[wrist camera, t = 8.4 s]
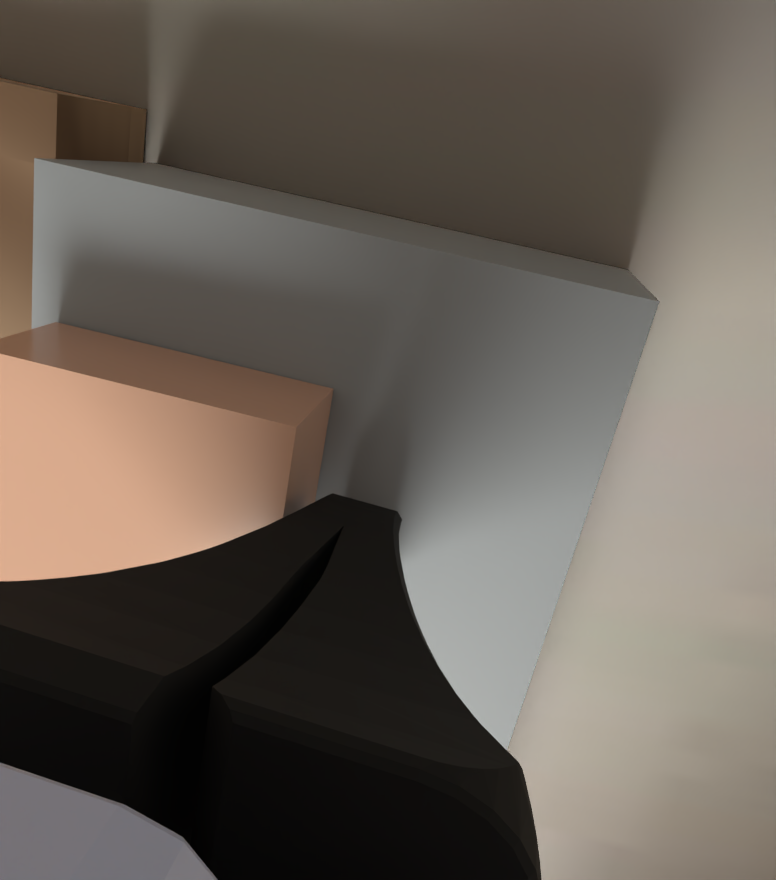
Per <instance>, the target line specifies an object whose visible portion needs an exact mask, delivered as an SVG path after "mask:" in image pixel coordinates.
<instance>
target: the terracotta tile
mask: <svg viewBox="0 0 776 880" xmlns="http://www.w3.org/2000/svg"><path fill="white" fill-rule="evenodd" d="M333 390H334V389H333V388H329V387H325V386H320V385H316V384H312V383H308V382H304V381H300V380H295V379H291V378H287V377H283V376H279V375H275V374H270V373H266V372H262V371H258V370H254V369H250V368H246V367H241V366H237V365H233V364H229V363H225V362H221V361H216V360H212V359H208V358H204V357H200V356H196V355H191V354H187V353H183V352H179V351H175V350H171V349H166V348H162V347H158V346H154V345H150V344H146V343H141V342H137V341H133V340H129V339H125V338H121V337H117V336H112V335H108V334H104V333H100V332H96V331H92V330H87V329H83V328H79V327H75V326H71V325H67V324H62V323H58V322H54V323H51V324H47V325H44V326H41V327H37V328H34V329H30V330H27V331H24V332H20V333H17V334H14V335H10V336H7V337H4V338H0V581H25V580H41V579H53V578H65V577H74V576H82V575H91V574H99V573H106V572H111V571H116V570H121V569H127V568H132V567H137V566H142V565H148V564H153V563H158V562H162V561H167V560H171V559H174V558H178V557H181V556H185V555H189V554H192V553H196V552H199V551H202V550H205V549H208V548H211V547H214V546H217V545H220V544H223V543H225V542H228V541H230V540H233V539H235V538H238V537H240V536H242V535H245V534H247V533H250V532H252V531H255V530H257V529H260V528H262V527H265V526H267V525H269V524H271V523H273V522H275V521H277V520H279V519H281V518H283V517H286V516H288V515H290V514H292V513H294V512H296V511H298V510H300V509H302V508H304V507H306V506H308V505H310V504H311V503H313V502H315V499H316V493H317V487H318V480H319V474H320V468H321V462H322V456H323V450H324V444H325V438H326V432H327V426H328V420H329V414H330V408H331V402H332V396H333Z"/></svg>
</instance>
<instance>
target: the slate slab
mask: <svg viewBox="0 0 776 880" xmlns="http://www.w3.org/2000/svg"><path fill="white" fill-rule="evenodd" d="M658 304H659V301H658V300H657V299H656V298H655V297H654V296H653V295H652V294H651V293H650V292H649V291H648V290H647V288H646V287H645V286H644V285H643V284H642V283H641V282H640V281H639V280H638V279H637V278H636V277H635V276H634V275H633V274H632V273H631V272H630V271H629V270H626V269H622V268H617V267H613V266H608V265H604V264H600V263H595V262H591V261H586V260H582V259H577V258H573V257H569V256H564V255H560V254H555V253H551V252H546V251H542V250H538V249H533V248H529V247H524V246H520V245H515V244H511V243H507V242H502V241H498V240H493V239H489V238H484V237H480V236H476V235H471V234H467V233H462V232H458V231H453V230H449V229H445V228H440V227H436V226H431V225H427V224H422V223H418V222H414V221H409V220H405V219H400V218H396V217H391V216H387V215H383V214H378V213H374V212H369V211H365V210H360V209H356V208H352V207H347V206H343V205H338V204H334V203H329V202H325V201H321V200H316V199H312V198H307V197H303V196H298V195H294V194H290V193H285V192H281V191H276V190H272V189H267V188H263V187H259V186H254V185H250V184H245V183H241V182H237V181H232V180H228V179H223V178H219V177H214V176H210V175H206V174H201V173H197V172H192V171H188V170H183V169H179V168H175V167H170V166H166V165H161V164H157V163H136V162H113V161H90V160H67V159H44V158H34V205H33V269H32V329H34V328H37V327H41V326H44V325H47V324H51V323H54V322H58V323H62V324H67V325H71V326H75V327H79V328H83V329H87V330H92V331H96V332H100V333H104V334H108V335H112V336H117V337H121V338H125V339H129V340H133V341H137V342H141V343H146V344H150V345H154V346H158V347H162V348H166V349H171V350H175V351H179V352H183V353H187V354H191V355H196V356H200V357H204V358H208V359H212V360H216V361H221V362H225V363H229V364H233V365H237V366H241V367H246V368H250V369H254V370H258V371H262V372H266V373H270V374H275V375H279V376H283V377H287V378H291V379H295V380H300V381H304V382H308V383H312V384H316V385H320V386H325V387H329V388H333V389H334V390H333V396H332V402H331V408H330V414H329V420H328V426H327V432H326V438H325V444H324V450H323V456H322V462H321V468H320V474H319V480H318V487H317V493H316V499H315V501H317V500H319V499H321V498H323V497H325V496H327V495H330V494H332V493H334V494H337V495H341V496H344V497H348V498H352V499H355V500H359V501H363V502H366V503H370V504H373V505H377V506H381V507H384V508H388V509H391V510H395V511H398V513H399V515H400V517H401V518H402V522H401V526H400V531H399V549H400V557H401V563H402V568H403V574H404V579H405V583H406V587H407V591H408V594H409V597H410V601H411V604H412V607H413V610H414V613H415V616H416V619H417V621H418V624H419V626H420V629H421V631H422V633H423V636H424V638H425V640H426V642H427V645H428V647H429V649H430V650H431V652H432V654H433V656H434V658H435V660H436V662H437V664H438V666H439V668H440V669H441V671H442V672H443V674H444V675H445V677H446V678H447V680H448V682H449V683H450V685H451V686H452V688H453V689H454V691H455V692H456V694H457V695H458V697H459V698H460V699H461V700H462V702H463V703H464V704H465V705H466V707H467V708H468V709H469V710H470V712H471V713H472V714H473V715H474V717H475V718H476V719H477V720H478V721H479V723H480V724H481V725H482V726H483V727H484V728H485V729H486V730H487V731H488V732H489V733H490V734H491V735H492V736H493V737H494V738H495V739H496V740H497V741H498V742H499V743H500V744H501V745H502V746H503V747H504V748H505V749H506V750H507V749H508V746H509V743H510V740H511V737H512V734H513V731H514V728H515V725H516V722H517V719H518V716H519V713H520V710H521V708H522V705H523V702H524V699H525V696H526V693H527V690H528V687H529V684H530V681H531V678H532V675H533V672H534V669H535V666H536V663H537V660H538V657H539V655H540V652H541V649H542V646H543V643H544V640H545V637H546V634H547V631H548V628H549V625H550V622H551V619H552V616H553V613H554V610H555V607H556V604H557V602H558V599H559V596H560V593H561V590H562V587H563V584H564V581H565V578H566V575H567V572H568V569H569V566H570V563H571V560H572V557H573V554H574V551H575V549H576V546H577V543H578V540H579V537H580V534H581V531H582V528H583V525H584V522H585V519H586V516H587V513H588V510H589V507H590V504H591V501H592V498H593V496H594V493H595V490H596V487H597V484H598V481H599V478H600V475H601V472H602V469H603V466H604V463H605V460H606V457H607V454H608V451H609V448H610V445H611V443H612V440H613V437H614V434H615V431H616V428H617V425H618V422H619V419H620V416H621V413H622V410H623V407H624V404H625V401H626V398H627V395H628V392H629V389H630V387H631V384H632V381H633V378H634V375H635V372H636V369H637V366H638V363H639V360H640V357H641V354H642V351H643V348H644V345H645V342H646V339H647V336H648V334H649V331H650V328H651V325H652V322H653V319H654V316H655V313H656V310H657V307H658Z"/></svg>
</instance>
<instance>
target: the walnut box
mask: <svg viewBox="0 0 776 880" xmlns="http://www.w3.org/2000/svg"><path fill="white" fill-rule="evenodd" d="M146 111H147V110H146V109H142V108H137V107H132V106H128V105H123V104H119V103H114V102H109V101H105V100H100V99H96V98H91V97H86V96H82V95H77V94H73V93H68V92H63V91H59V90H54V89H49V88H45V87H40V86H36V85H31V84H26V83H22V82H17V81H13V80H8V79H3V78H0V338H4V337H7V336H10V335H14V334H17V333H20V332H24V331H27V330H30V329H32V269H33V205H34V158H44V159H67V160H90V161H113V162H136V163H143V155H144V141H145V126H146Z"/></svg>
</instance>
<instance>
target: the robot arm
mask: <svg viewBox="0 0 776 880" xmlns="http://www.w3.org/2000/svg"><path fill="white" fill-rule="evenodd" d="M401 522H402V518H401V517H400V515H399V513H398V511H395V510H391V509H388V508H384V507H381V506H377V505H373V504H370V503H366V502H363V501H359V500H355V499H352V498H348V497H344V496H341V495H337V494H334V493H332V494H330V495H327V496H325V497H323V498H321V499H319V500H317V501H315V502H313V503H311V504H310V505H308V506H306V507H304V508H302V509H300V510H298V511H296V512H294V513H292V514H290V515H288V516H286V517H283V518H281V519H279V520H277V521H275V522H273V523H271V524H269V525H267V526H265V527H262V528H260V529H257V530H255V531H252V532H250V533H247V534H245V535H242V536H240V537H238V538H235V539H233V540H230V541H228V542H225V543H223V544H220V545H217V546H214V547H211V548H208V549H205V550H202V551H199V552H196V553H192V554H189V555H185V556H181V557H178V558H174V559H171V560H167V561H162V562H158V563H153V564H148V565H142V566H137V567H132V568H127V569H121V570H116V571H111V572H106V573H99V574H91V575H82V576H74V577H65V578H53V579H41V580H25V581H0V880H541V870H540V859H539V851H538V844H537V837H536V830H535V825H534V819H533V814H532V808H531V804H530V799H529V795H528V790H527V786H526V782H525V778H524V774H523V770H522V768H521V766H520V764H519V762H518V761H517V760H516V759H515V758H514V757H513V756H512V755H511V754H510V753H509V752H508V751H507V750H506V749H505V748H504V747H503V746H502V745H501V744H500V743H499V742H498V741H497V740H496V739H495V738H494V737H493V736H492V735H491V734H490V733H489V732H488V731H487V730H486V729H485V728H484V727H483V726H482V725H481V724H480V723H479V721H478V720H477V719H476V718H475V717H474V715H473V714H472V713H471V712H470V710H469V709H468V708H467V707H466V705H465V704H464V703H463V702H462V700H461V699H460V698H459V697H458V695H457V694H456V692H455V691H454V689H453V688H452V686H451V685H450V683H449V682H448V680H447V678H446V677H445V675H444V674H443V672H442V671H441V669H440V668H439V666H438V664H437V662H436V660H435V658H434V656H433V654H432V652H431V650H430V649H429V647H428V645H427V642H426V640H425V638H424V636H423V633H422V631H421V629H420V626H419V624H418V621H417V619H416V616H415V613H414V610H413V607H412V604H411V601H410V597H409V594H408V591H407V587H406V583H405V579H404V574H403V568H402V563H401V557H400V549H399V531H400V526H401Z"/></svg>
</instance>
